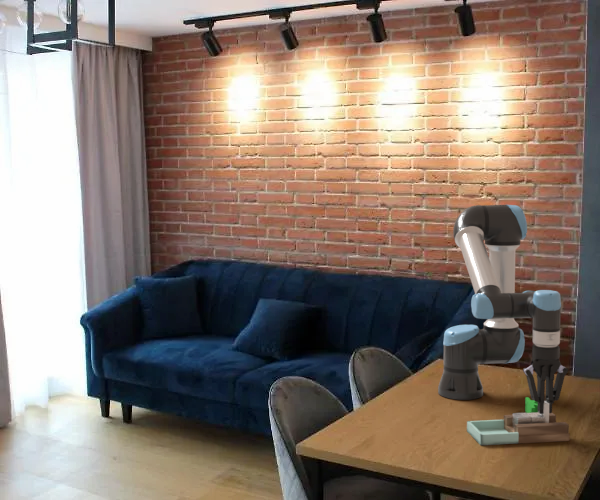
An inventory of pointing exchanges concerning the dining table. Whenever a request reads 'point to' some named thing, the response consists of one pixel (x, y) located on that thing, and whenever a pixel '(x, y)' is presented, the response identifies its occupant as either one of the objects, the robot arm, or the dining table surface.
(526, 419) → the chip
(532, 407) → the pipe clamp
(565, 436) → the slot board
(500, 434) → the tray
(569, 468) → the dining table surface
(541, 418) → the chip
